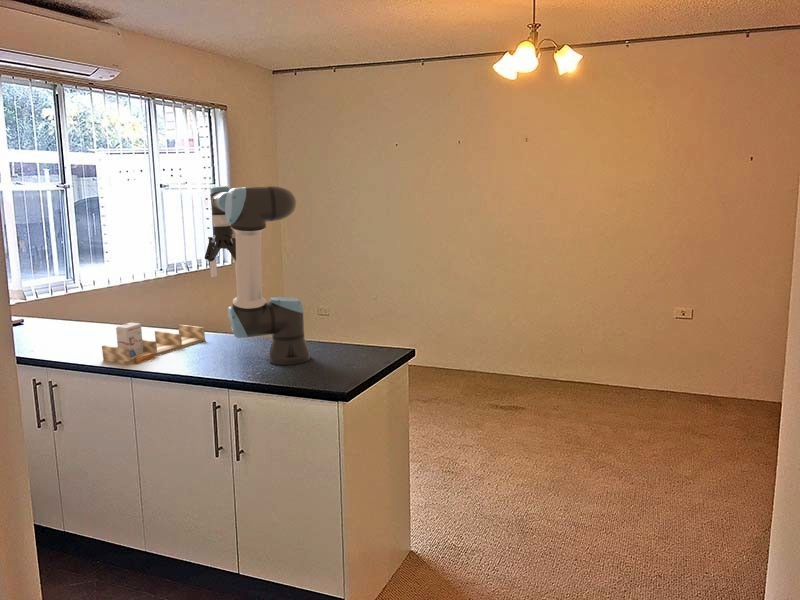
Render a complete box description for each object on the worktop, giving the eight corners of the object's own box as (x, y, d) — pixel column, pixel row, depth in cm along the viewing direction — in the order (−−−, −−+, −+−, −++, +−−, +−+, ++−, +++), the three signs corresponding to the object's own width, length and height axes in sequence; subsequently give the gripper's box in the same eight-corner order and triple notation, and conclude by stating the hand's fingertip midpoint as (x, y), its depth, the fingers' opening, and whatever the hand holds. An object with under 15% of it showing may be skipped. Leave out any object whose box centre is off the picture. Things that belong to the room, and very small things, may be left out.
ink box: (129, 358, 252) (125, 327, 250) (118, 357, 254) (114, 326, 252) (144, 352, 260) (141, 322, 258) (133, 351, 262) (130, 321, 260)
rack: (208, 341, 280) (206, 327, 279) (131, 365, 247) (129, 350, 246) (181, 337, 288) (180, 324, 287) (103, 360, 255) (101, 345, 254)
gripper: (252, 225, 267) (256, 277, 271) (206, 224, 279) (210, 274, 283) (239, 226, 261) (243, 280, 265) (192, 225, 273) (197, 277, 277)
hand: (226, 277), depth 274 cm, fingers open, 13 cm apart
